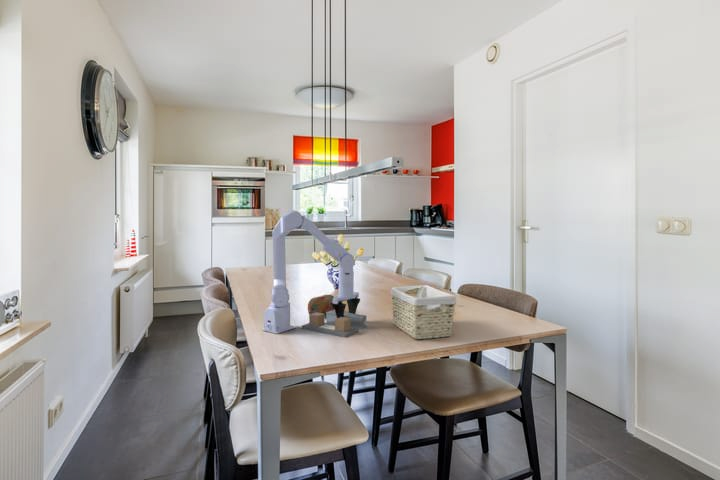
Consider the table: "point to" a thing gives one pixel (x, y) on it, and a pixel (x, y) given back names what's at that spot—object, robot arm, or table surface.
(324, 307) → the tin
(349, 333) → the gate base
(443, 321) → the storage basket
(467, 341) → the table surface
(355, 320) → the beam
